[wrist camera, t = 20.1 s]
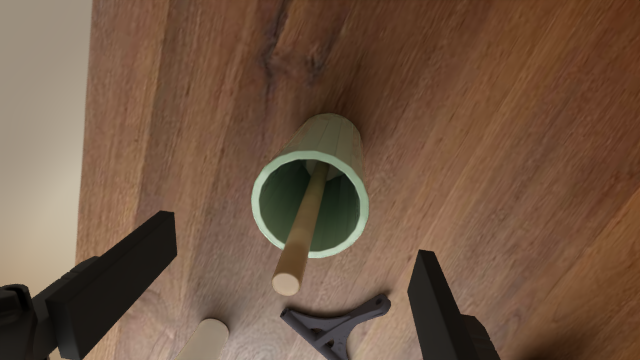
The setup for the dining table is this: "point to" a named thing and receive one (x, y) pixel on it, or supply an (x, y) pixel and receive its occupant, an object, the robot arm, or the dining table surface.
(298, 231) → the bottle brush
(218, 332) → the drinking glass
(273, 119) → the dining table surface
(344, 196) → the vase
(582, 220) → the dining table surface
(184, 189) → the dining table surface
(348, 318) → the bracket
